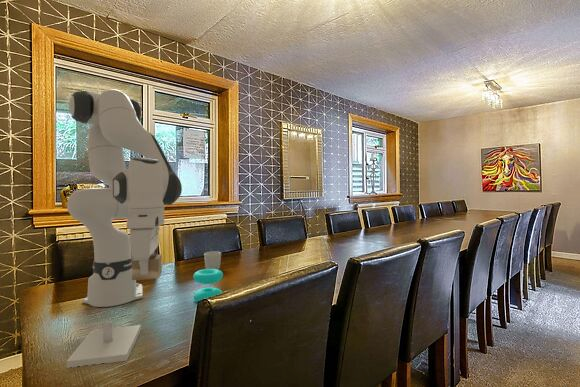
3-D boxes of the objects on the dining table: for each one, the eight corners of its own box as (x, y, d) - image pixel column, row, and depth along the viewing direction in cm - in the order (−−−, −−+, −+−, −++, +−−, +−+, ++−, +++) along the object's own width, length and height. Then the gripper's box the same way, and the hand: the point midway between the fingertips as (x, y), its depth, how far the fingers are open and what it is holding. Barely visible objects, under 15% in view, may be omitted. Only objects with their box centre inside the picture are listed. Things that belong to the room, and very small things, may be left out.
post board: (91, 335, 86) (91, 312, 85) (140, 330, 89) (140, 308, 88) (66, 368, 70) (65, 340, 70) (126, 360, 73) (126, 334, 73)
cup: (203, 267, 158) (203, 250, 158) (219, 265, 161) (219, 249, 161) (204, 272, 148) (204, 255, 148) (222, 271, 151) (222, 254, 150)
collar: (136, 273, 88) (136, 255, 88) (161, 272, 90) (161, 254, 90) (131, 280, 82) (131, 260, 82) (158, 278, 84) (158, 259, 84)
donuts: (189, 275, 107) (197, 267, 117) (190, 305, 107) (197, 295, 117) (220, 275, 107) (224, 267, 117) (220, 304, 108) (225, 294, 118)
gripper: (140, 215, 95) (141, 262, 95) (124, 222, 75) (125, 281, 76) (163, 214, 97) (164, 260, 97) (154, 221, 77) (154, 279, 77)
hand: (147, 270), depth 86 cm, fingers closed on collar, 6 cm apart
